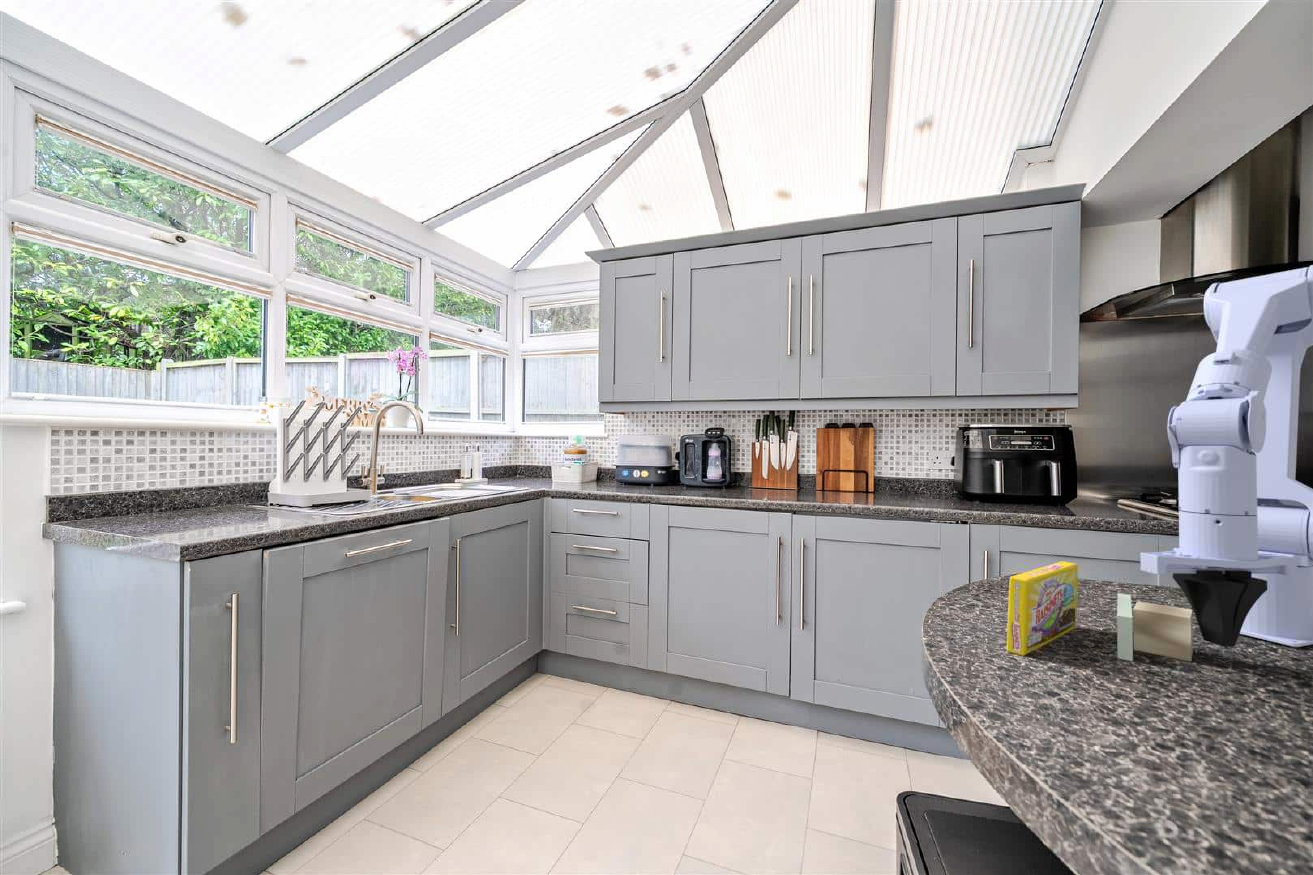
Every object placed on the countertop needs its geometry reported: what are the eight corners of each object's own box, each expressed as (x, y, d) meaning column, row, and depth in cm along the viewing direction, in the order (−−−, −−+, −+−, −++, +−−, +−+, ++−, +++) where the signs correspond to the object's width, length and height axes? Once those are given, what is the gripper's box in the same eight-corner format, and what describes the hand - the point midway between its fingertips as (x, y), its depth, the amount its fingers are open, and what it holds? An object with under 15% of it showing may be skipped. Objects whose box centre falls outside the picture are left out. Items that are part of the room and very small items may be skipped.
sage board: (1131, 632, 65) (1130, 594, 65) (1132, 661, 56) (1132, 617, 56) (1118, 630, 66) (1117, 593, 66) (1117, 658, 57) (1117, 615, 57)
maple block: (1192, 650, 59) (1192, 609, 59) (1191, 661, 56) (1190, 618, 56) (1138, 639, 62) (1137, 601, 62) (1133, 649, 59) (1133, 608, 59)
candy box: (1027, 658, 57) (1027, 580, 57) (1005, 652, 58) (1004, 576, 58) (1079, 629, 66) (1078, 562, 66) (1058, 625, 68) (1058, 559, 68)
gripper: (1243, 509, 60) (1245, 630, 60) (1115, 508, 60) (1116, 629, 60) (1321, 517, 53) (1324, 654, 53) (1176, 515, 53) (1178, 653, 53)
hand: (1218, 643), depth 56 cm, fingers closed
